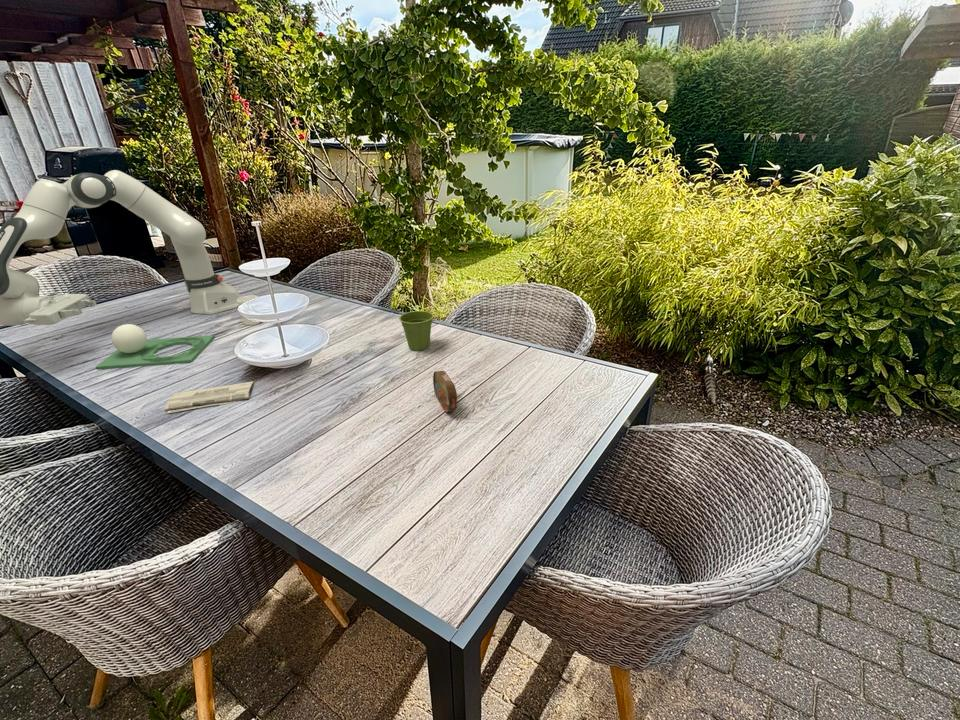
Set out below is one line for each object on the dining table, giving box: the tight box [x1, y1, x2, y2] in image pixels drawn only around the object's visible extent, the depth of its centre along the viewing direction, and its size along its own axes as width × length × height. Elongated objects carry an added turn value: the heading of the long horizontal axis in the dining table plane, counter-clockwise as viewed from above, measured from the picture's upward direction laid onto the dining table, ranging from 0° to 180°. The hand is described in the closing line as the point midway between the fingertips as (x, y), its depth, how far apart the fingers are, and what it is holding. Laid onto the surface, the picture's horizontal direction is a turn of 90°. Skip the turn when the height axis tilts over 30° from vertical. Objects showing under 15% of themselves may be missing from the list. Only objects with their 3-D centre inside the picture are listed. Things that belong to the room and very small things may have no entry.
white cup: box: [237, 294, 260, 326], centre depth 191 cm, size 8×8×10 cm
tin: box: [432, 370, 458, 413], centre depth 133 cm, size 15×3×8 cm, turn 21°
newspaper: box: [164, 381, 255, 414], centre depth 141 cm, size 23×12×2 cm, turn 105°
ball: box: [110, 323, 148, 353], centre depth 166 cm, size 10×10×10 cm
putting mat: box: [95, 334, 216, 370], centre depth 170 cm, size 30×21×1 cm
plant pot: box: [398, 310, 435, 351], centre depth 166 cm, size 12×12×11 cm
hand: (87, 307), depth 160 cm, fingers open, 6 cm apart
